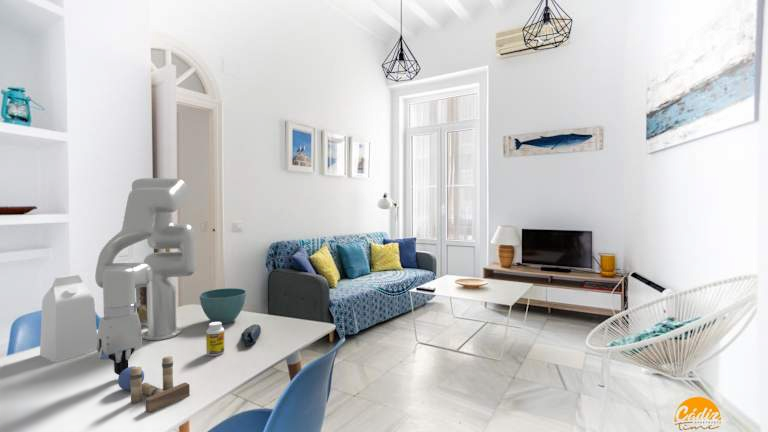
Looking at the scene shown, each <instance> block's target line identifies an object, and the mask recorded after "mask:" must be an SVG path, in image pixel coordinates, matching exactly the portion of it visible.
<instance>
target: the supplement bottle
mask: <svg viewBox="0 0 768 432" xmlns="http://www.w3.org/2000/svg"><path fill="white" fill-rule="evenodd" d="M205 333H206V336H205V337H206V339H205V341H206V342H205V343H206V355H207V356H210V357H214V356H220V355H222V354H224V352H225V328H224V327H223V324H222V323H221V322H212V321H211V322H210V323H209V324H208V328H207V329H206V332H205Z"/></svg>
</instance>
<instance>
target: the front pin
mask: <svg viewBox="0 0 768 432" xmlns="http://www.w3.org/2000/svg"><path fill="white" fill-rule="evenodd" d="M163 391H164V390H163V388H162V389H161V388H159V387H157V386H155V385H153V384H151V383H148V382H142V394H145V395H147V396H148V397H151V396H153V395H156V394H158V393H160V392H163Z"/></svg>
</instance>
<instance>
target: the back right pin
mask: <svg viewBox="0 0 768 432" xmlns="http://www.w3.org/2000/svg"><path fill="white" fill-rule="evenodd" d="M133 367H134V368H132V369H130V381H131V390H130V403H132V405H135V404H136V405H137V404H140V403H141V402H142V401H143V392H142V384H143V382H142V371H143V370H142V371H141V369H142V366H133Z"/></svg>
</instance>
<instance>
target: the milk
mask: <svg viewBox="0 0 768 432" xmlns="http://www.w3.org/2000/svg"><path fill="white" fill-rule="evenodd" d="M41 301H42V302H41V317H40V318H41V322H40V323H41V324H40V342H39V343H40V345H39V356H41V357H43V358H45V359H46V360H49V361H51V362H53V363H58V362H63V361H65V360H69V359H73V358H76V357H79V356H83V355H86V354H89V353H92V352H96V351H97V335H98V328H97V320H96V318H97V317H96V305H95V298H94V295H93V293H92V291H91V290H90V289H89V288H88V287H87V285H86V283H85V282H84V281H83V279H82V278H81V276H80V274H71V275H64V276H63V275H62V276H57V277H55V279H54V281H53V282H52V285H51V287H50V288H49V289H48V291H46V293H45V295H44V296H43V298H42V300H41ZM97 352H98V351H97Z"/></svg>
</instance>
